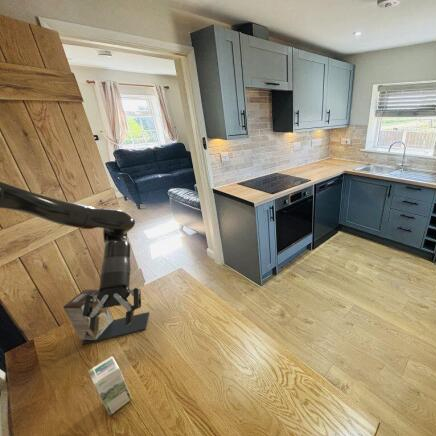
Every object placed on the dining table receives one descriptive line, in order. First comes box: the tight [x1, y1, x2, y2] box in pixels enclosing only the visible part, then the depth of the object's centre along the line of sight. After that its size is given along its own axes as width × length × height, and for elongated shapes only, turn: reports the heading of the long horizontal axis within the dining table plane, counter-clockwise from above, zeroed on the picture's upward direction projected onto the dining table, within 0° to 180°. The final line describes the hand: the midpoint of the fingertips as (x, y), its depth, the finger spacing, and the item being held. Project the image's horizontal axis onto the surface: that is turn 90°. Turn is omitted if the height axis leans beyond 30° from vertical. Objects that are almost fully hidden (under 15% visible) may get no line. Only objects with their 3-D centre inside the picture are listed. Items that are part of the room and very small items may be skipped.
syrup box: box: [87, 355, 133, 417], centre depth 66 cm, size 6×6×14 cm
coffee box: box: [63, 288, 114, 340], centre depth 88 cm, size 9×6×16 cm
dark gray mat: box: [81, 311, 150, 346], centre depth 92 cm, size 20×9×1 cm, turn 111°
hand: (111, 328), depth 70 cm, fingers open, 8 cm apart
